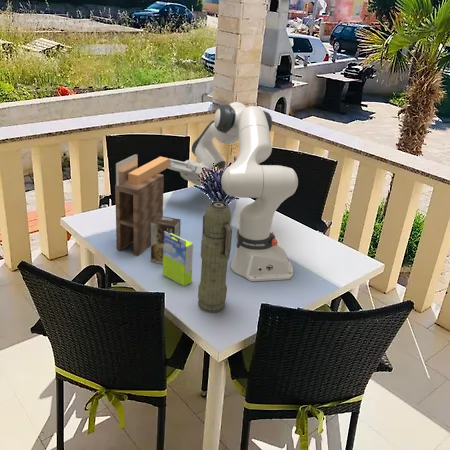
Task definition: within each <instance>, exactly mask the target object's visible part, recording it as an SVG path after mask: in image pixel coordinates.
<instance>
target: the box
mask: <svg viewBox="0 0 450 450" xmlns="http://www.w3.org/2000/svg"><path fill="white" fill-rule="evenodd" d="M193 254H194V242H192V241H188V240H187V239H185V238H182V237H181V236H180V237H178V236H176V235H174V234H172V233H168V232H166V231H164V245H163V264H162V275H163V276H164V277H166V278H169V279H170V280H172V281H173V282H176V283H178V284H180V285H181V286H183V287H185V286H187V285H189V284H191V283H192V282H193V281H192V280H193V279H192V278H193Z"/></svg>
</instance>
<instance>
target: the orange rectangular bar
mask: <svg viewBox="0 0 450 450" xmlns="http://www.w3.org/2000/svg"><path fill="white" fill-rule="evenodd" d="M169 159H170V158H168V157H166V156H165V157H164V156H158V157H157V158H155V159H153V160H151V161H149V162H147V163H145V164H143V165H141V166H139V167H138V168H137V169H135V170H134V171H132V172H130V173H128V183H132V184H136V185H139V184H141V183H142V182H144V181H146V180H147V179H149V178H151V177H153V176H154V175H156V174H161V172H163V171H165V170H166V169H168V167H169Z"/></svg>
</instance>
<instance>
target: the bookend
mask: <svg viewBox="0 0 450 450" xmlns="http://www.w3.org/2000/svg"><path fill="white" fill-rule="evenodd" d="M138 155H139V154H137V153H136V154H132V155H131V156H128V157H127V158H125V159H122V160H120V161H118V162H116V163H115V185H117V186H119V185H121V184H123V183H125V182H127V181H128V173H130V172H132V171H134V170H135V169H137V168H139V167H138V165H139V164H138V161H139V159H138Z"/></svg>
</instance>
